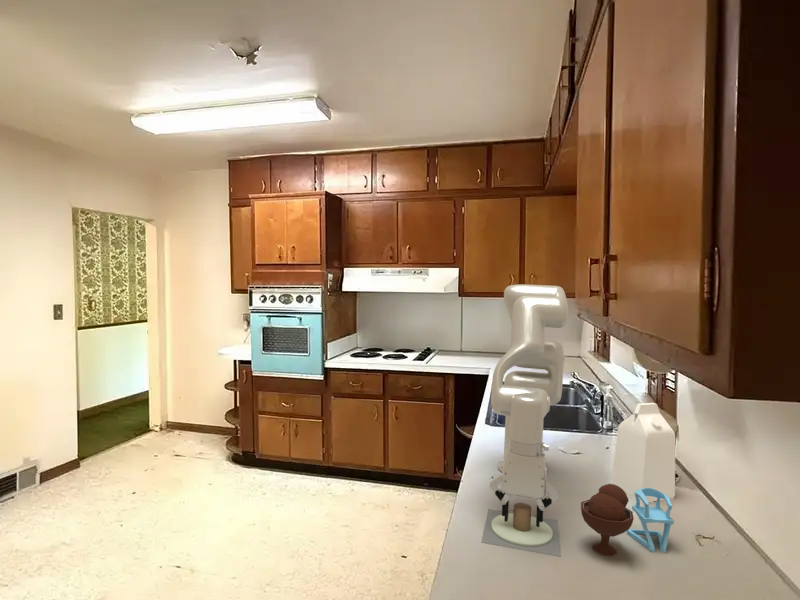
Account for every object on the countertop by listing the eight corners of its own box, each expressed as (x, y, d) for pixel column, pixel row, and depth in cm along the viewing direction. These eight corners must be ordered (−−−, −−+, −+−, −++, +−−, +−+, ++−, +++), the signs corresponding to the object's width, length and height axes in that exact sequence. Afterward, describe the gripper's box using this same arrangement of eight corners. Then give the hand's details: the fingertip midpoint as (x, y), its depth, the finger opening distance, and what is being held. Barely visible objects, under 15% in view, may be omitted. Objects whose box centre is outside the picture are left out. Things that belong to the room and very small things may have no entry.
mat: (488, 511, 125) (488, 508, 125) (557, 522, 120) (557, 520, 120) (481, 544, 108) (481, 542, 108) (560, 559, 104) (561, 556, 104)
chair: (641, 551, 108) (644, 499, 108) (626, 532, 116) (629, 483, 116) (676, 554, 108) (680, 501, 107) (658, 534, 116) (662, 485, 116)
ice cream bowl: (586, 533, 115) (590, 471, 115) (637, 551, 108) (641, 485, 107) (570, 551, 107) (574, 485, 106) (624, 572, 100) (628, 501, 99)
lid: (493, 512, 123) (494, 490, 123) (551, 521, 119) (552, 498, 119) (488, 540, 109) (489, 515, 109) (553, 551, 106) (554, 525, 105)
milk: (642, 482, 147) (647, 398, 146) (674, 499, 136) (680, 408, 135) (610, 486, 143) (615, 399, 143) (641, 503, 133) (646, 410, 132)
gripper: (563, 446, 115) (559, 520, 115) (489, 437, 119) (486, 508, 120) (565, 457, 108) (561, 536, 108) (486, 447, 112) (483, 522, 113)
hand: (521, 521), depth 114 cm, fingers open, 6 cm apart
